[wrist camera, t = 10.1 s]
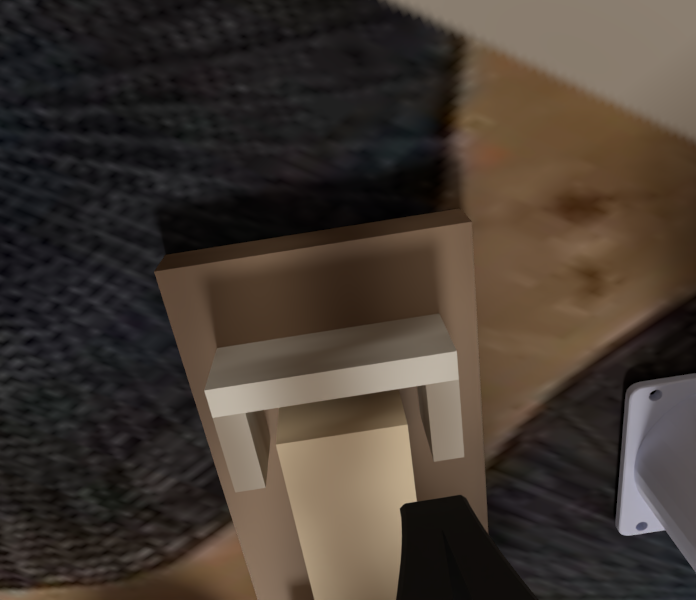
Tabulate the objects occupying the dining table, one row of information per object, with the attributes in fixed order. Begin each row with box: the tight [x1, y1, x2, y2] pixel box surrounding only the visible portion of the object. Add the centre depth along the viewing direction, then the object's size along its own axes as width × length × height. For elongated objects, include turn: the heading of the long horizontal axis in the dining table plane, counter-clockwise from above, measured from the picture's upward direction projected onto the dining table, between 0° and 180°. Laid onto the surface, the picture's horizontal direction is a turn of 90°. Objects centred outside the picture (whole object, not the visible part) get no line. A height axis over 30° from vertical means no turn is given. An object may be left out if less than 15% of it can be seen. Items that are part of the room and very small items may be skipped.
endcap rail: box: [154, 209, 488, 600], centre depth 22 cm, size 10×24×4 cm, turn 8°
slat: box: [276, 389, 417, 600], centre depth 21 cm, size 4×14×3 cm, turn 8°
